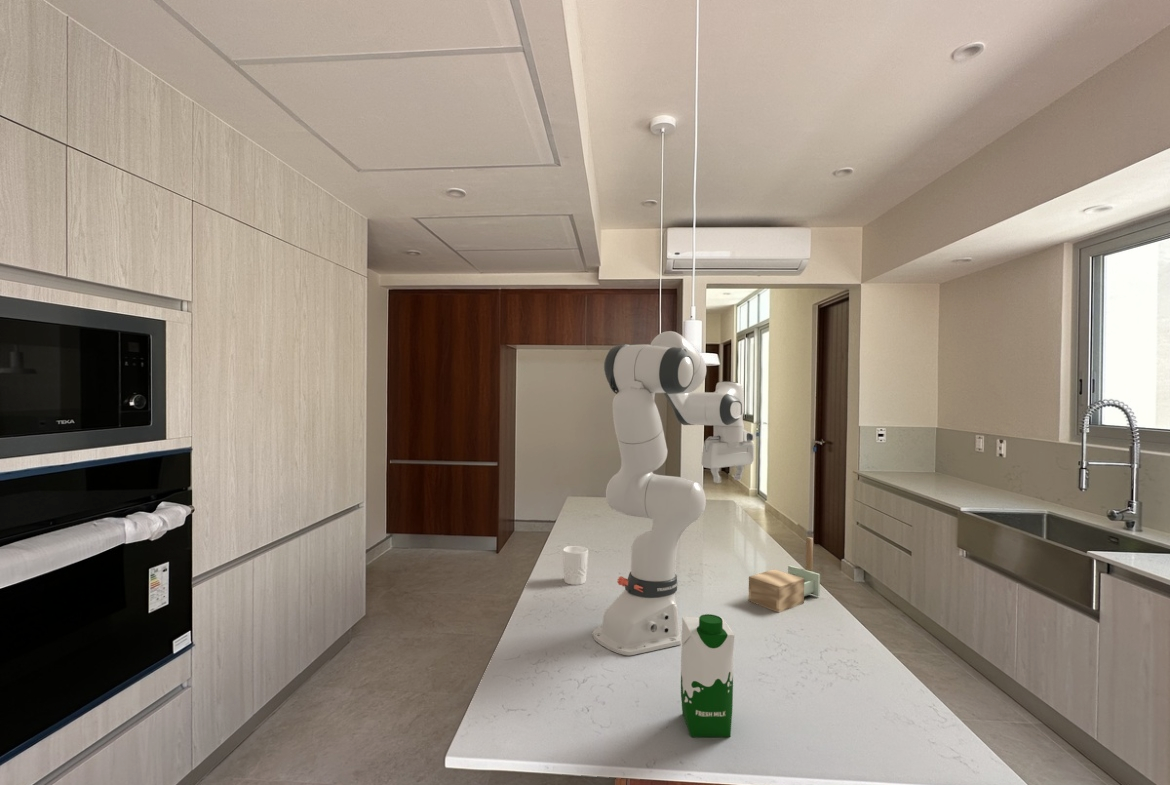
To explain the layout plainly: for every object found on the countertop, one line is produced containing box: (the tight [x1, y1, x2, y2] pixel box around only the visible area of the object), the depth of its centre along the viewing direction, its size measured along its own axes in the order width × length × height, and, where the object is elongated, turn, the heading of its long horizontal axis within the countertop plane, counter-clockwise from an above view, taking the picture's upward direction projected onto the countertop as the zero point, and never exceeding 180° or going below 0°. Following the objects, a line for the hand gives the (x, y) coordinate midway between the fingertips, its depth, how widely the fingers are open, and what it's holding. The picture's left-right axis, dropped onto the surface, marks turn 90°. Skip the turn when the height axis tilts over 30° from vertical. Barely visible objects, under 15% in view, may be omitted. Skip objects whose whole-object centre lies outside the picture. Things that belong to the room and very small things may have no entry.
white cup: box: [562, 545, 589, 586], centre depth 173 cm, size 8×8×10 cm
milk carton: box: [680, 613, 735, 738], centre depth 100 cm, size 9×9×20 cm
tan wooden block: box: [748, 568, 805, 613], centre depth 159 cm, size 12×10×7 cm
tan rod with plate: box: [787, 536, 821, 597], centre depth 165 cm, size 15×10×16 cm, turn 127°
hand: (727, 481), depth 167 cm, fingers open, 8 cm apart
